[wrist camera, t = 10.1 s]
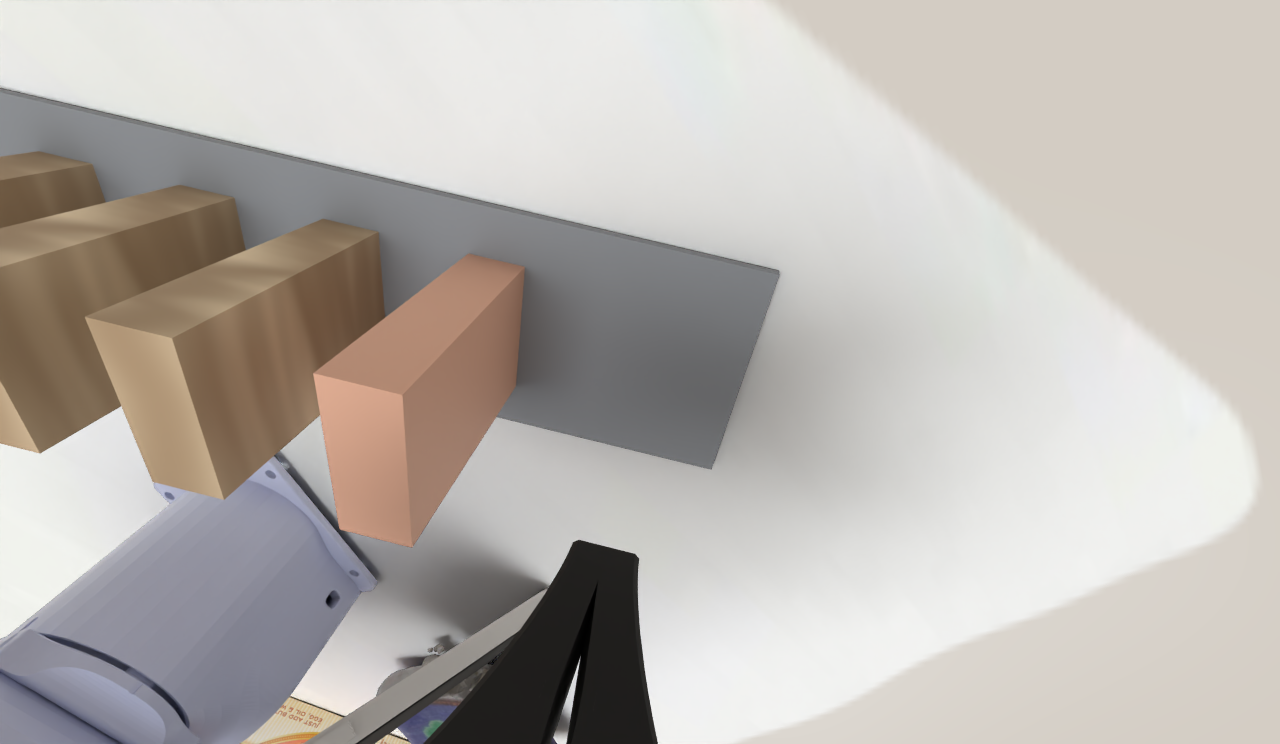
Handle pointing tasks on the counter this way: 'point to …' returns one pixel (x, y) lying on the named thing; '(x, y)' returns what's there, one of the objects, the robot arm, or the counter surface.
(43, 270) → the domino
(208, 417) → the domino
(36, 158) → the domino
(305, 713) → the coffeecake box
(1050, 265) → the counter surface
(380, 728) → the smartphone
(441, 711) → the navy pouch
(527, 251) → the mat
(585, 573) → the robot arm
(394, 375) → the domino
